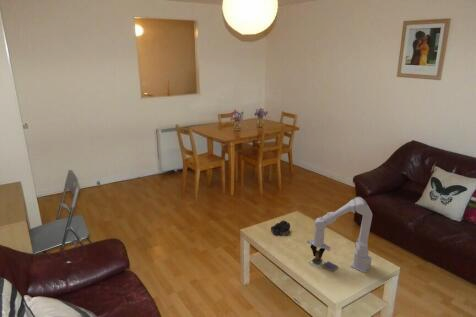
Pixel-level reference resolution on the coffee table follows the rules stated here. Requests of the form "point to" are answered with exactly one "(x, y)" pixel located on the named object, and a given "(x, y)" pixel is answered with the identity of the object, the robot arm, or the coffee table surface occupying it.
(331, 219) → the robot arm
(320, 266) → the sheet
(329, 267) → the ink pad
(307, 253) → the coffee table surface
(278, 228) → the crystal cluster
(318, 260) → the stamp
